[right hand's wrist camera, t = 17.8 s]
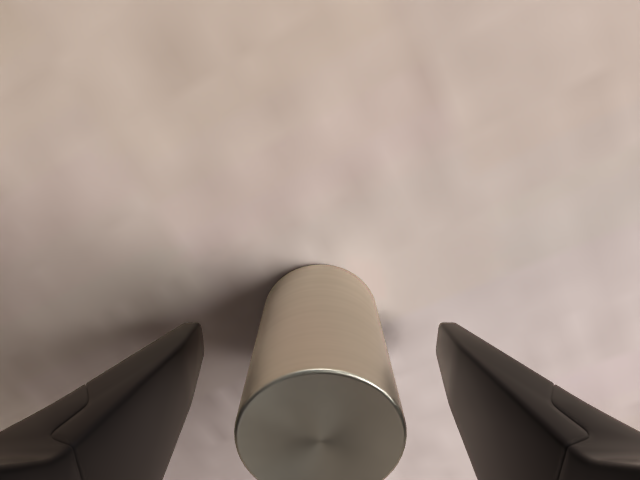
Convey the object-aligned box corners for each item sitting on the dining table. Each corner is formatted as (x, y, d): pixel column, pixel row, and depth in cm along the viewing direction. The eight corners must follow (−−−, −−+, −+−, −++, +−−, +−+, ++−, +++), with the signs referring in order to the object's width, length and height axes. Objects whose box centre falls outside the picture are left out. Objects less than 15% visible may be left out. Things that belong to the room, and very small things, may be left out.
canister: (296, 243, 12) (281, 342, 7) (397, 294, 12) (441, 414, 8) (245, 333, 13) (205, 467, 8) (341, 376, 13) (351, 522, 9)
